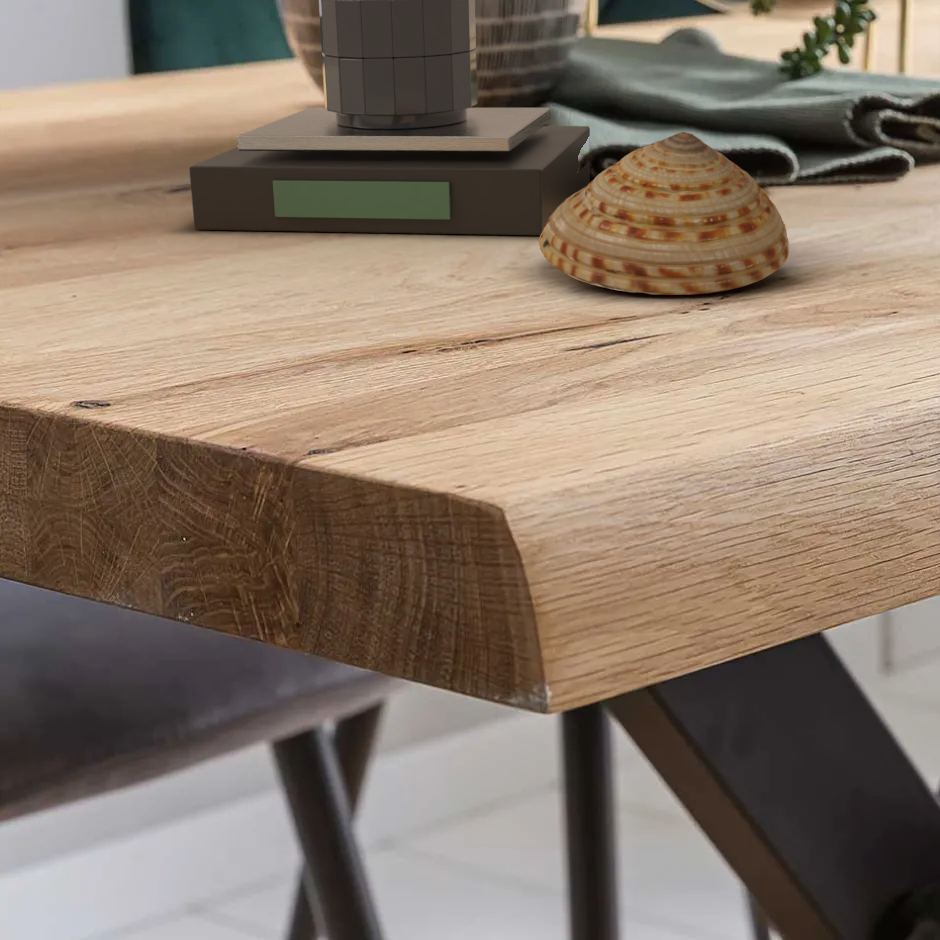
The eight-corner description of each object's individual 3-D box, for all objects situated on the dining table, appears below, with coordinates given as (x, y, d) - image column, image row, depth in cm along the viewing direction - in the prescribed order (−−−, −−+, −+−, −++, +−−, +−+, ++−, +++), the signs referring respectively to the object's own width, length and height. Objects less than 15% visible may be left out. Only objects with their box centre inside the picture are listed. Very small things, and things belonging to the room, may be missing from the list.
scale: (191, 230, 62) (186, 167, 61) (292, 180, 73) (288, 125, 72) (541, 236, 59) (540, 170, 58) (590, 182, 70) (589, 125, 69)
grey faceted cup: (306, 130, 63) (298, 0, 61) (351, 111, 69) (345, -9, 67) (457, 131, 62) (453, -2, 60) (490, 111, 67) (487, -11, 66)
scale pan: (237, 150, 62) (236, 135, 62) (308, 121, 71) (308, 107, 70) (509, 152, 60) (509, 136, 60) (550, 121, 68) (550, 107, 68)
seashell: (733, 173, 58) (808, 109, 50) (747, 324, 58) (825, 284, 50) (514, 183, 57) (555, 120, 49) (527, 338, 57) (571, 300, 49)
